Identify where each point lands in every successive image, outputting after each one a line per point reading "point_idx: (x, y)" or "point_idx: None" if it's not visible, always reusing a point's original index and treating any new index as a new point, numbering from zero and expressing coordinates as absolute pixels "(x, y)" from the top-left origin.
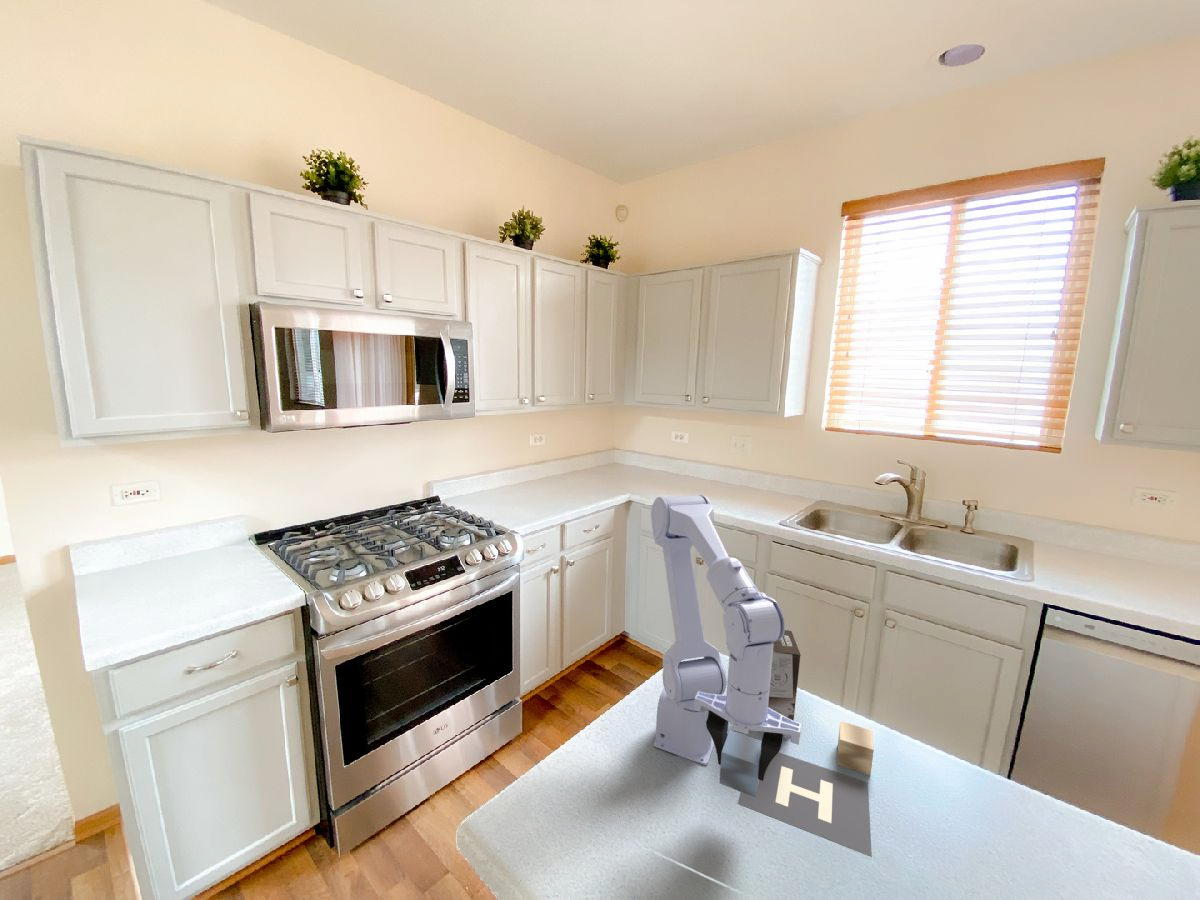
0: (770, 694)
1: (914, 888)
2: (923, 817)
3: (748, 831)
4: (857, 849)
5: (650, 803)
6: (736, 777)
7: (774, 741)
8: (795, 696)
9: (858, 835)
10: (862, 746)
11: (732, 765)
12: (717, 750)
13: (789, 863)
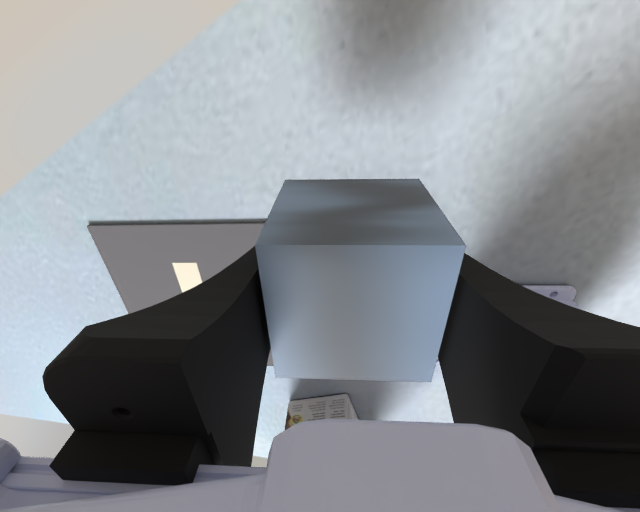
0: None
1: (6, 197)
2: (64, 336)
3: (315, 163)
4: (112, 229)
5: (582, 114)
6: (359, 198)
7: (104, 407)
8: None
9: (123, 259)
10: None
11: (387, 218)
12: (475, 264)
13: (211, 124)
